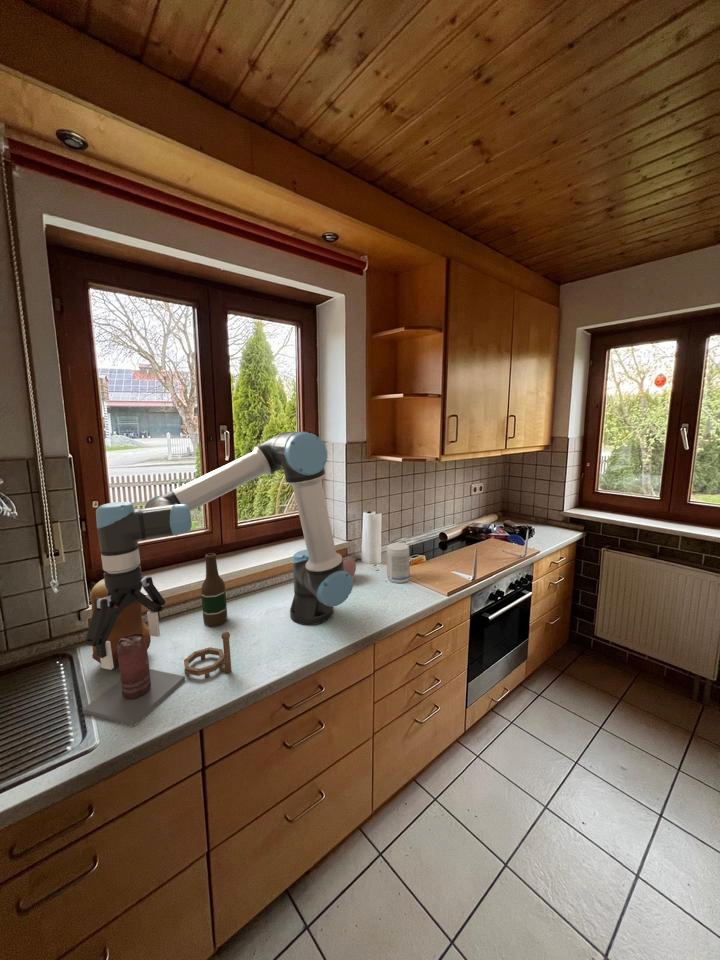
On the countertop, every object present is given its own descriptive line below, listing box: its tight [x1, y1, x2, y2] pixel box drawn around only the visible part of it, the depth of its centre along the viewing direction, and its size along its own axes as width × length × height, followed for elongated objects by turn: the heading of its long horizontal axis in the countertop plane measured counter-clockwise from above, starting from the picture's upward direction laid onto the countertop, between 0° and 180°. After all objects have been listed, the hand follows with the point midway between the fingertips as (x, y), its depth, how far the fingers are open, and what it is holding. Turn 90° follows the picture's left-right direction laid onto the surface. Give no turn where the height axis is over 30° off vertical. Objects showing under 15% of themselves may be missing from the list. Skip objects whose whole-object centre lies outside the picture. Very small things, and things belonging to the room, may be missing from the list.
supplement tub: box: [386, 542, 411, 584], centre depth 161 cm, size 10×10×15 cm
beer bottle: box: [200, 552, 228, 628], centre depth 128 cm, size 8×8×24 cm
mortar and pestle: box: [343, 557, 357, 578], centre depth 161 cm, size 12×12×12 cm
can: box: [117, 634, 151, 699], centre depth 93 cm, size 6×6×14 cm
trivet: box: [81, 668, 186, 727], centre depth 94 cm, size 15×16×1 cm
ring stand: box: [183, 631, 232, 679], centre depth 104 cm, size 14×10×12 cm
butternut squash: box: [90, 578, 152, 668], centre depth 106 cm, size 14×13×25 cm
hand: (133, 650), depth 93 cm, fingers open, 13 cm apart
